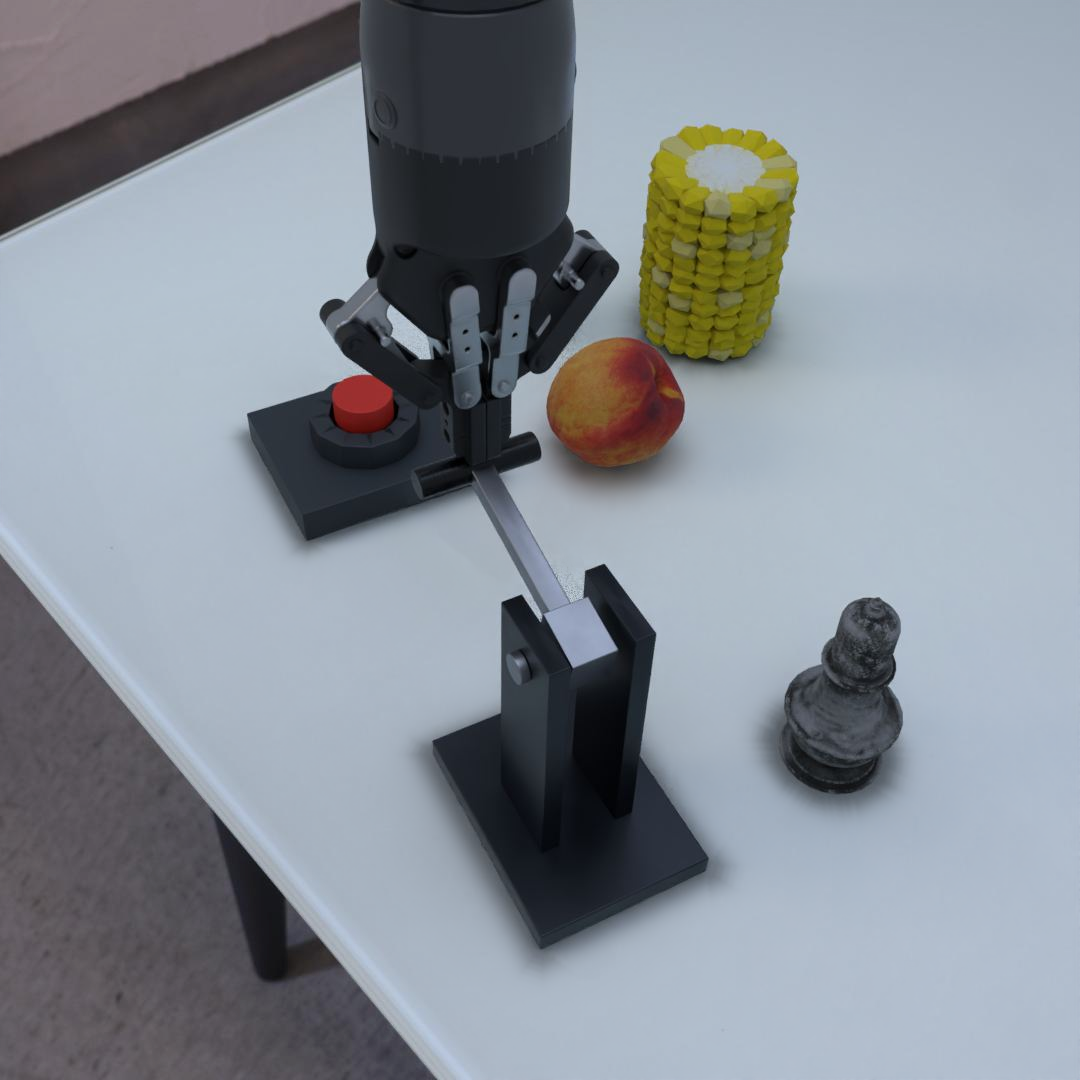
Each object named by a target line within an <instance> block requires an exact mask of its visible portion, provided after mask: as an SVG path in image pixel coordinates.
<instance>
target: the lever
mask: <svg viewBox="0 0 1080 1080" xmlns="http://www.w3.org/2000/svg"><path fill="white" fill-rule="evenodd" d="M540 460H542V447H541V444H540V441H539V439H538V437H537V435H536V434H535V433H534V432H533V431H530V430H529V431H525V432H522V433H519V434H517V435H513V436H510V437H509V439H508V442H507V443H504V444H501V456H500V457H497V458H494V459H491V460H488V461H485V462H482V463H479V464H476V465H473V466H470V465H469V464H468V463H467V462H466V460H465V459H464V457H461V458H458V457H457V456H456V455H455V456H452V457H449V458H446V459H443V460H440V461H437V462H433V463H430V464H427V465H424V466H421V467H418V468H415V469H413V470H412V471H411V480H412V484H413V487H414V490H415V492H416V494H417V495H418V497H419V498H420V499H422V500H423V499H427V498H430V497H432V496H435V495H438V494H441V493H444V492H447V491H450V490H453V489H456V488H459V487H462V486H465V485H468V484H471V485H470V486H471V487H472V488H473V491H474V492H475V494H476V496H477V499H478V500H479V502H480V504H481V506H482V507H483V509H484V511H485V513H486V514H487V517H488V518H489V521H490V522H491V524H492V525H493V527H494V530H495V531H496V532H497V535H498V536H499V539H500V540H501V542H502V544H503V546H504V548H505V549H506V551H507V553H508V555H509V557H510V559H511V560H512V562H513V564H514V566H515V568H516V570H517V571H518V574H519V575H520V577H521V579H522V580H523V583H524V584H525V586H526V588H527V590H528V592H529V593H530V595H531V597H532V598H533V601H534V603H535V604H536V606H537V608H538V610H539V612H540V613H541V618H540V622H541V624H542V625H543V627H544V628H545V630H546V631H547V633H548V634H549V636H550V637H551V639H552V640H553V642H554V643H555V645H556V646H557V648H558V649H559V651H560V652H561V654H562V655H563V657H564V658H565V659H566V661H567V662H568V664H569V665H570V667H571V676H570V691H571V690H574V689H576V688H579V687H581V686H584V685H586V684H589V683H591V682H593V681H596V680H598V679H601V678H603V677H606V676H608V675H609V674H610V671H611V669H612V666H613V664H614V661H615V658H616V656H617V653H618V651H619V650H618V648H617V646H616V644H615V643H614V641H613V639H612V637H611V636H610V634H609V632H608V630H607V629H606V627H605V625H604V623H603V622H602V620H601V618H600V616H599V615H598V613H597V611H596V609H595V608H594V606H593V604H592V602H591V601H590V599H589V597H585V598H583V597H582V598H580V599H577V600H575V601H572V602H571V600H570V598H569V597H568V595H567V593H566V592H565V590H564V588H563V586H562V585H561V583H560V581H559V579H558V576H556V573H555V572H554V570H553V568H552V567H551V565H550V563H549V561H548V559H547V558H546V556H545V554H544V552H543V550H542V549H541V546H540V545H539V543H538V542H537V540H536V538H535V536H534V535H533V532H532V531H531V529H530V526H529V525H528V523H527V522H526V520H525V518H524V516H523V515H522V513H521V511H520V509H519V507H518V506H517V504H516V503H515V501H514V499H513V497H512V495H511V494H510V491H509V489H508V488H507V486H506V485H505V483H504V481H503V479H502V477H501V475H500V474H505V473H507V472H509V471H512V470H516V469H518V468H521V467H524V466H527V465H530V464H533V463H536V462H539V461H540Z"/></svg>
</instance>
